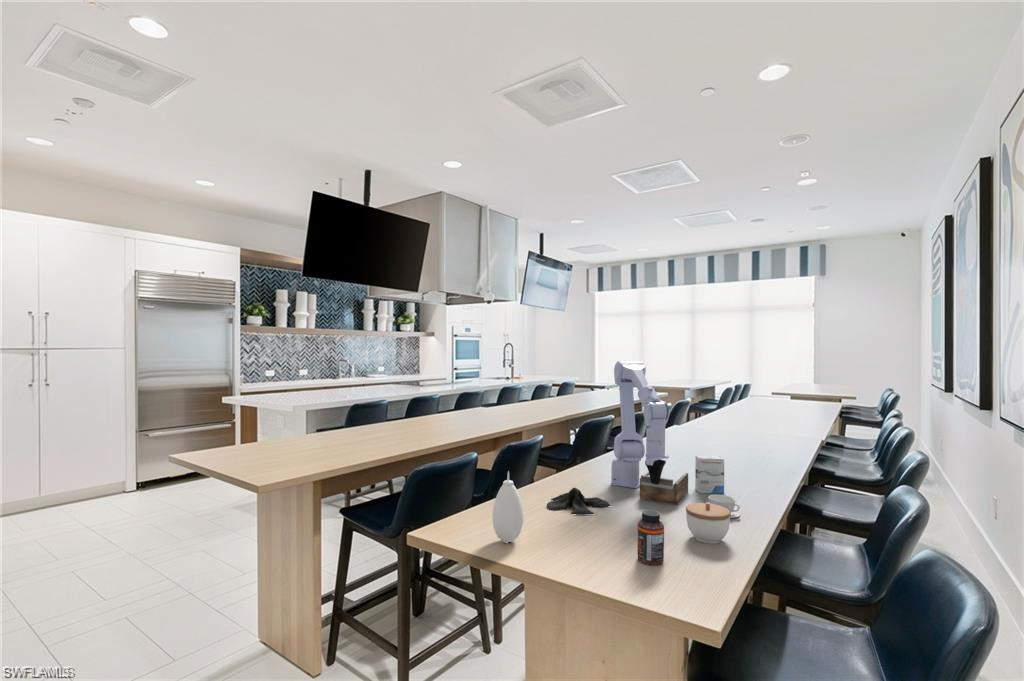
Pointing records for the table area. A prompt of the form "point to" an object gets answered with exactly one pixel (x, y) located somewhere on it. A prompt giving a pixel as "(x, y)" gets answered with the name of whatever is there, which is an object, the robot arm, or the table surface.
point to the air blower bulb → (507, 512)
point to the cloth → (576, 502)
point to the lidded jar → (707, 521)
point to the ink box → (709, 474)
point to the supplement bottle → (650, 538)
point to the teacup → (725, 503)
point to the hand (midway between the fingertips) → (655, 483)
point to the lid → (662, 480)
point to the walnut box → (665, 492)
